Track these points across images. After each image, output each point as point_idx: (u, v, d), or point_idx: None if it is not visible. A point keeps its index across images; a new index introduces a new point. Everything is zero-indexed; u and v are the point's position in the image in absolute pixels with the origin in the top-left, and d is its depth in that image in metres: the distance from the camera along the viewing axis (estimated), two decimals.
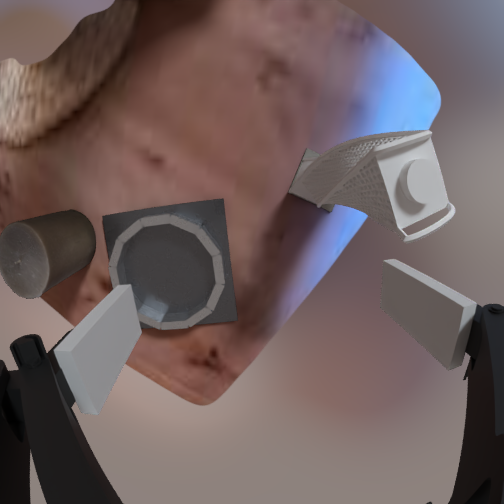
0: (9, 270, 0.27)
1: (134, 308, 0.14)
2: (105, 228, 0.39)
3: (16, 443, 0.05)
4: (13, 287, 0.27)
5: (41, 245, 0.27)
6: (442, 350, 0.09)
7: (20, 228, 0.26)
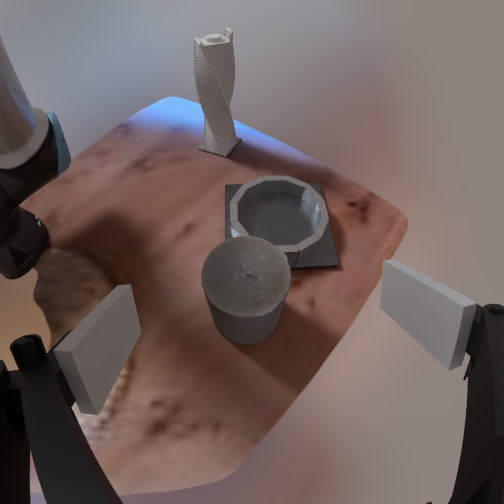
0: (255, 295, 0.30)
1: (134, 308, 0.14)
2: None
3: (16, 443, 0.05)
4: (277, 296, 0.30)
5: (231, 239, 0.33)
6: (442, 350, 0.09)
7: (209, 264, 0.31)
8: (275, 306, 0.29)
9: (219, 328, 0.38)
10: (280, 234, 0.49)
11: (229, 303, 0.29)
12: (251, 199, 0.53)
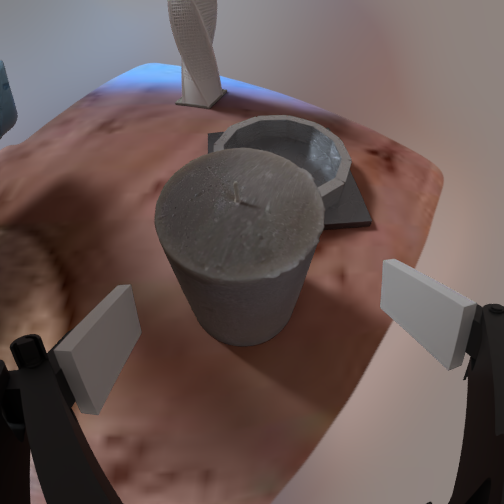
0: (260, 238, 0.15)
1: (134, 308, 0.14)
2: None
3: (16, 443, 0.05)
4: (304, 238, 0.15)
5: (211, 154, 0.18)
6: (442, 350, 0.09)
7: (170, 192, 0.16)
8: (302, 257, 0.14)
9: (200, 319, 0.23)
10: None
11: (207, 255, 0.14)
12: (243, 146, 0.38)
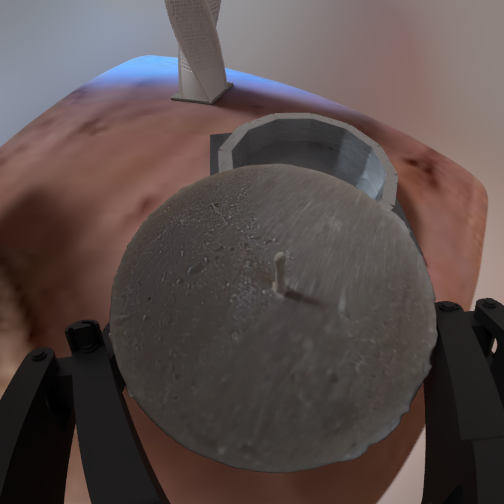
0: (333, 380, 0.06)
1: None
2: None
3: (58, 434, 0.06)
4: (410, 366, 0.06)
5: (220, 176, 0.10)
6: None
7: (139, 259, 0.08)
8: (406, 408, 0.06)
9: None
10: None
11: (220, 424, 0.06)
12: (255, 152, 0.30)
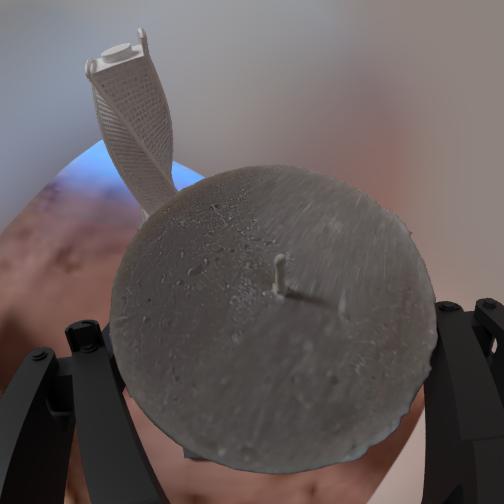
0: (332, 381, 0.06)
1: None
2: None
3: (58, 434, 0.06)
4: (410, 368, 0.06)
5: (220, 176, 0.10)
6: None
7: (139, 261, 0.08)
8: (406, 409, 0.06)
9: None
10: None
11: (220, 425, 0.06)
12: None
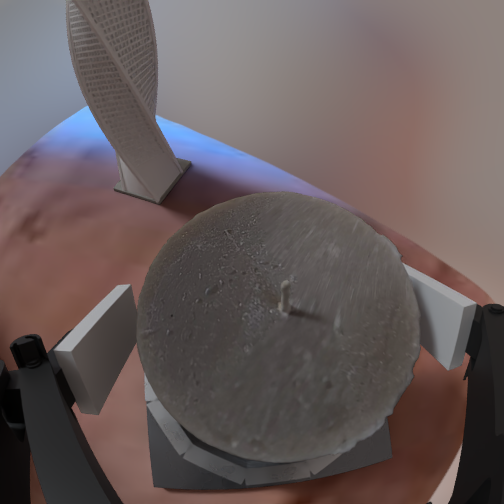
0: (327, 386, 0.07)
1: (134, 308, 0.14)
2: (177, 485, 0.16)
3: (16, 443, 0.05)
4: (394, 376, 0.08)
5: (232, 203, 0.11)
6: (442, 350, 0.09)
7: (162, 280, 0.09)
8: (390, 411, 0.07)
9: None
10: None
11: (234, 421, 0.07)
12: None
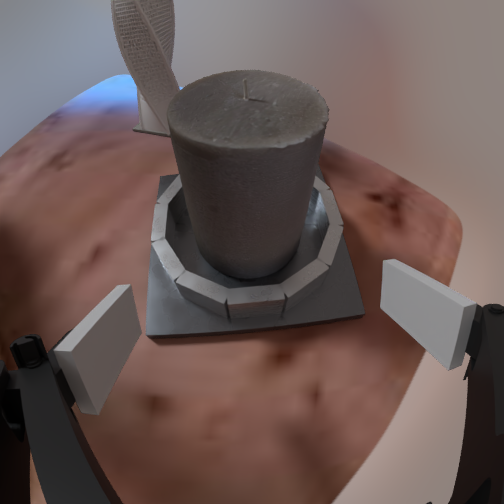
0: (268, 120, 0.14)
1: (134, 308, 0.14)
2: (167, 331, 0.22)
3: (16, 443, 0.05)
4: (310, 123, 0.14)
5: (223, 73, 0.18)
6: (442, 350, 0.09)
7: (183, 95, 0.16)
8: (308, 136, 0.14)
9: (202, 241, 0.22)
10: None
11: (215, 131, 0.14)
12: None
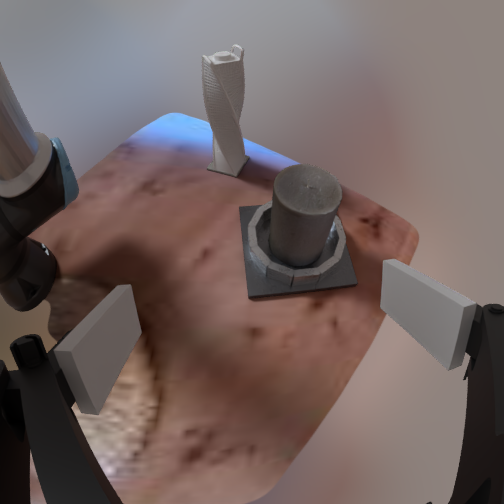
0: (319, 200, 0.38)
1: (134, 308, 0.14)
2: (260, 293, 0.46)
3: (16, 443, 0.05)
4: (335, 201, 0.38)
5: (293, 166, 0.41)
6: (442, 350, 0.09)
7: (279, 181, 0.39)
8: (334, 208, 0.37)
9: (279, 247, 0.46)
10: None
11: (300, 205, 0.37)
12: (267, 221, 0.53)
